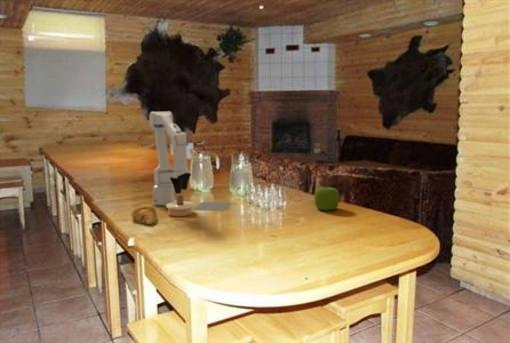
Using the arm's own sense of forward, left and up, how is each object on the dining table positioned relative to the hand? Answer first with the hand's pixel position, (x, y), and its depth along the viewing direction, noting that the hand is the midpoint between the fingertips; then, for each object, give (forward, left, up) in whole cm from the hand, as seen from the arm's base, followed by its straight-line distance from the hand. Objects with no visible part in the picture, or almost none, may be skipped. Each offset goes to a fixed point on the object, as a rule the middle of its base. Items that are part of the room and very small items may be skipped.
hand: (181, 191), depth 195 cm
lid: (0, -1, -6) cm, 6 cm away
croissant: (-12, -12, -10) cm, 20 cm away
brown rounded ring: (0, -1, -10) cm, 10 cm away
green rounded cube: (+63, +18, -10) cm, 66 cm away
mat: (+11, +13, -10) cm, 19 cm away
